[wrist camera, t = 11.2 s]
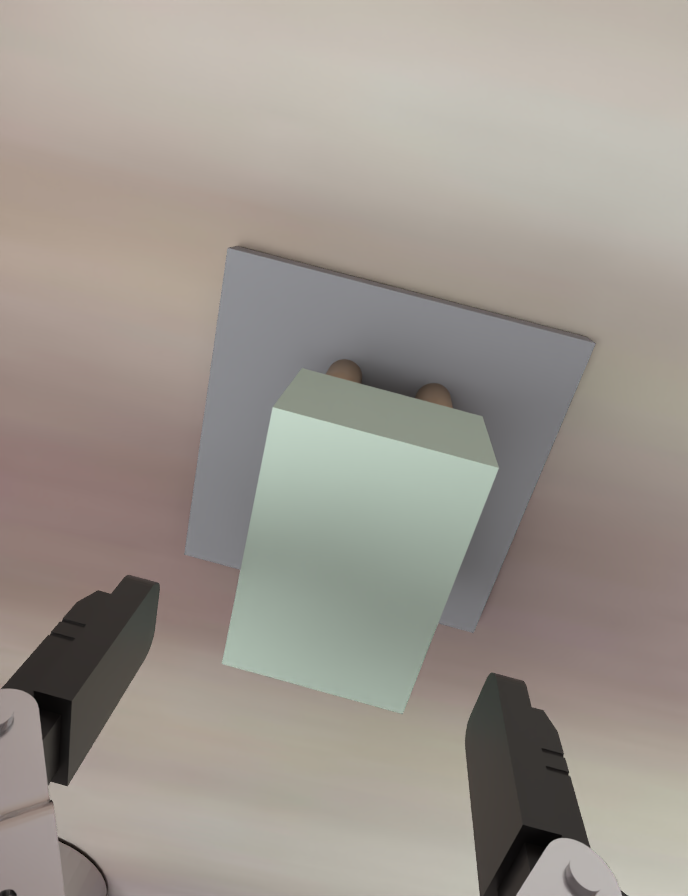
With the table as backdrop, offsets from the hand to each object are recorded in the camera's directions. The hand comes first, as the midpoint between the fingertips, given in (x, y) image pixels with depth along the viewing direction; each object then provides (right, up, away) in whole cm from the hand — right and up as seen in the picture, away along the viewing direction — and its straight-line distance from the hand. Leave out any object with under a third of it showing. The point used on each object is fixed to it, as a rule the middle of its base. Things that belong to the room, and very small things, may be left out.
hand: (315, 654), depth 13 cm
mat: (+2, +5, +11) cm, 12 cm away
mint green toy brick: (+2, +4, +10) cm, 11 cm away
